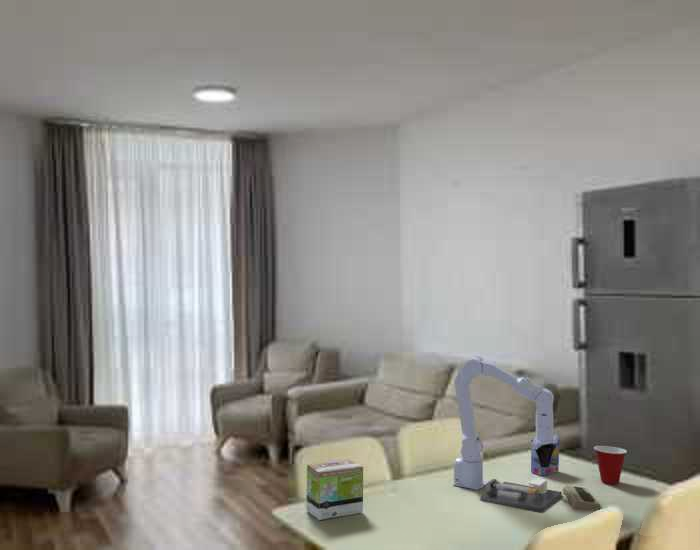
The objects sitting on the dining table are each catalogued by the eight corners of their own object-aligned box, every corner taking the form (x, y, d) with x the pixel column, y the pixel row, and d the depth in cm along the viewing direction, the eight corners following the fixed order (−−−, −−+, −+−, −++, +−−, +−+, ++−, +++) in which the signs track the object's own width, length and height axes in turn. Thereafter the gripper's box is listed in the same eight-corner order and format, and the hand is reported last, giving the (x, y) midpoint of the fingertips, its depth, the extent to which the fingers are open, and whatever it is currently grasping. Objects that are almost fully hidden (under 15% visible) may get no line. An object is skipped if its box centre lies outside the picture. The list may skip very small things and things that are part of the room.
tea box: (319, 521, 211) (319, 472, 211) (306, 511, 220) (305, 464, 220) (364, 513, 218) (363, 465, 218) (349, 503, 227) (348, 457, 227)
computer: (601, 511, 220) (601, 500, 220) (574, 510, 220) (574, 500, 220) (587, 494, 235) (587, 484, 235) (562, 494, 236) (562, 484, 236)
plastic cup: (633, 483, 245) (633, 448, 245) (614, 489, 239) (614, 453, 239) (607, 476, 254) (606, 442, 254) (587, 481, 248) (587, 447, 248)
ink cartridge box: (542, 476, 254) (542, 436, 254) (530, 473, 259) (529, 433, 259) (560, 471, 260) (559, 432, 260) (548, 468, 265) (547, 429, 264)
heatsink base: (480, 500, 229) (480, 486, 229) (504, 485, 245) (504, 472, 245) (540, 512, 218) (540, 497, 218) (561, 495, 233) (561, 482, 233)
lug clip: (529, 495, 230) (529, 483, 230) (536, 489, 235) (536, 478, 235) (539, 497, 228) (539, 484, 228) (547, 491, 233) (547, 479, 233)
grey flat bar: (491, 488, 233) (491, 483, 233) (496, 485, 236) (496, 480, 236) (534, 495, 225) (534, 490, 225) (539, 492, 228) (538, 487, 228)
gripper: (544, 431, 229) (544, 473, 229) (566, 424, 239) (566, 464, 239) (525, 428, 234) (525, 469, 234) (547, 421, 244) (547, 460, 244)
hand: (544, 466), depth 237 cm, fingers closed
